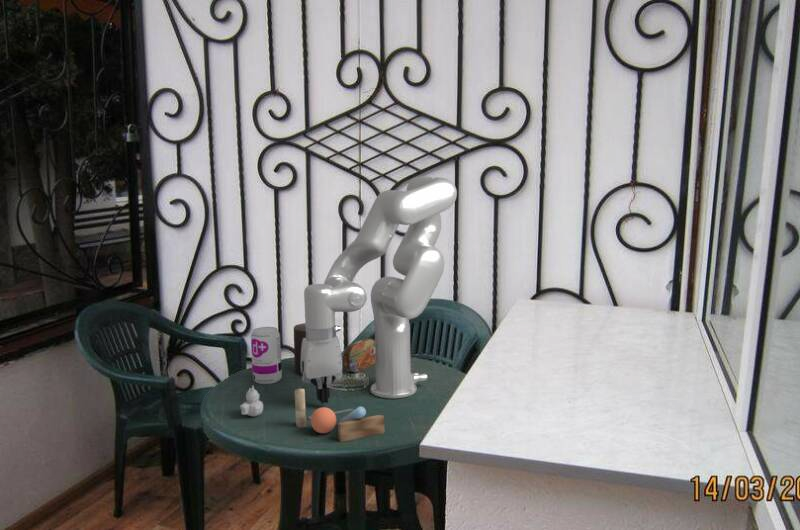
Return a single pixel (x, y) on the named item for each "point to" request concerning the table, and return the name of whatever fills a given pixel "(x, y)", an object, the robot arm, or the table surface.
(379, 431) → the back rail
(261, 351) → the supplement can
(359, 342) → the tin
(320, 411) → the ball
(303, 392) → the birch pin
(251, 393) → the white figurine
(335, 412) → the lane line
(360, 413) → the pin
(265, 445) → the table surface
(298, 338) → the pillar candle
